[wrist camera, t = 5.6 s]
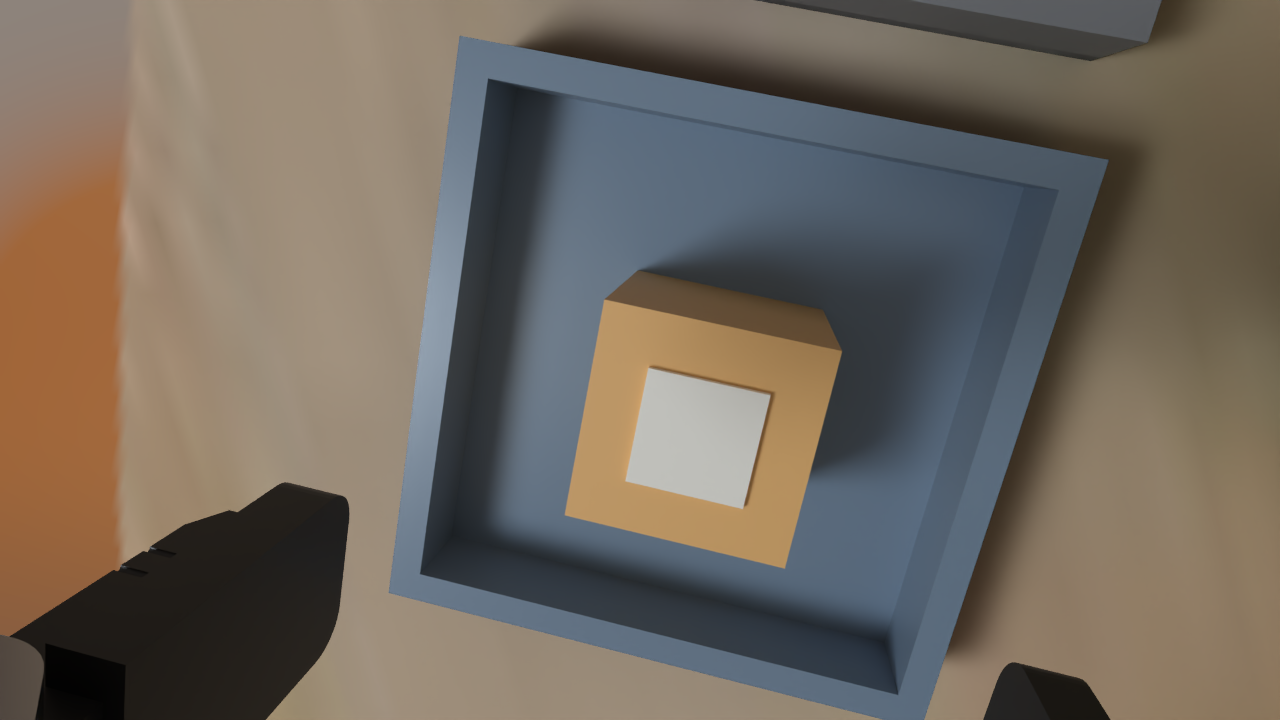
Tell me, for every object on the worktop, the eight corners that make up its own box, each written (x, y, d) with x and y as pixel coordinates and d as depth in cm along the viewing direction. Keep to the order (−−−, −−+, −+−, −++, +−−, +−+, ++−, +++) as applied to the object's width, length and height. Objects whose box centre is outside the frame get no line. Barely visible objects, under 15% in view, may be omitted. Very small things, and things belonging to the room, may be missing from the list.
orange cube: (823, 309, 21) (842, 353, 16) (778, 483, 23) (785, 571, 18) (638, 270, 22) (602, 300, 17) (604, 442, 23) (563, 517, 18)
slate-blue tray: (1058, 160, 20) (1109, 159, 17) (900, 661, 24) (921, 729, 21) (499, 53, 22) (459, 36, 19) (431, 544, 25) (388, 593, 22)
